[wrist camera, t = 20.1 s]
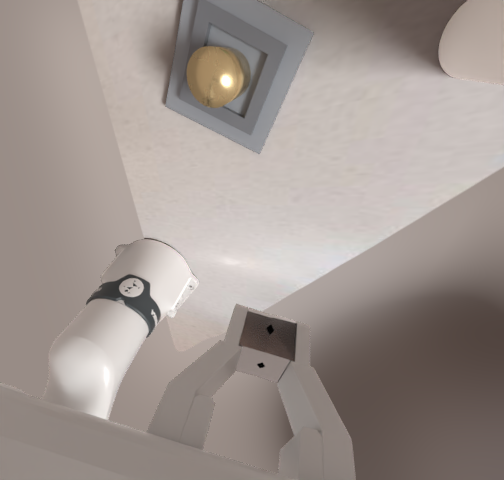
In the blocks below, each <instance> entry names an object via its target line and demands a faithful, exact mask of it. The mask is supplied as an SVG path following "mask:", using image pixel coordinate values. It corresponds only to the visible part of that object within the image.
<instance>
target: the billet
mask: <svg viewBox="0 0 504 480" xmlns="http://www.w3.org/2000/svg"><path fill="white" fill-rule="evenodd" d="M250 80H251V70H250V65H249V62H248V60H247V59H246V57H245V56H244V55H243V54H242V53H241V52H240V51H239V50H237V49H234V48H228V47H214V46H205V47H202V48H199V49H198V50H196V51H195V52H194V53H193V54H192V56H191V58H190V60H189V62H188V65H187V82H188V86H189V88H190V91H191V93H192V94H193V96H194V97H195V98H196V99H197V100H198V101H199V102H200V103H201V104H203V105H204V106H207V107H210V108H219V107H222V106H224V105H226V104H227V103H229V102H231V101H233V100H234V99H236V98H238V97H239V96H241V95H242V94H244V93H245V91H246V90H247V88H248V86H249V84H250Z"/></svg>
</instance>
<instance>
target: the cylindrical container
mask: <svg viewBox="0 0 504 480" xmlns="http://www.w3.org/2000/svg"><path fill="white" fill-rule="evenodd" d="M438 56H439V62H440V65H441V67H442V69H443V70H444V72H446V73H447V74H448V75H449V76H451V77H453V78H457V79H463V80H470V81H477V82H484V83H491V84H498V85H504V0H467V1H466V2H465V3H464V4H463V5H462V6H460V7H459V9H458V10H457V11H456V12H455V13H454V15H453V16H452V17H451V19H450V20H449V22H448V23H447V25H446V27H445V29H444V31H443V33H442V36H441V39H440V43H439V49H438Z"/></svg>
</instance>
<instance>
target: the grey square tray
mask: <svg viewBox="0 0 504 480" xmlns="http://www.w3.org/2000/svg"><path fill="white" fill-rule="evenodd" d="M313 34H314V32H312V31H310V30H309V29H307V28H305V27H303V26H302V25H300V24H298V23H296V22H295V21H293V20H291V19H289V18H288V17H286V16H284V15H282V14H280V13H279V12H277V11H275V10H273V9H272V8H270V7H268V6H266V5H265V4H263V3H261V2H259V1H258V0H183V5H182V11H181V17H180V23H179V29H178V35H177V41H176V47H175V53H174V59H173V64H172V70H171V76H170V82H169V88H168V94H167V100H166V106H165V107H167V108H169V109H171V110H173V111H175V112H177V113H179V114H181V115H183V116H185V117H187V118H189V119H191V120H193V121H195V122H197V123H199V124H201V125H203V126H205V127H207V128H209V129H211V130H213V131H215V132H217V133H219V134H221V135H223V136H225V137H227V138H229V139H231V140H233V141H235V142H237V143H238V144H240V145H242V146H244V147H246V148H248V149H250V150H252V151H254V152H256V153H258V154H260V152H261V150H262V148H263V146H264V144H265V141H266V139H267V137H268V135H269V132H270V130H271V128H272V126H273V124H274V121H275V119H276V117H277V115H278V112H279V110H280V108H281V106H282V103H283V101H284V99H285V97H286V94H287V92H288V90H289V88H290V86H291V83H292V81H293V79H294V77H295V74H296V72H297V70H298V68H299V65H300V63H301V61H302V59H303V57H304V54H305V52H306V50H307V48H308V45H309V43H310V41H311V39H312V36H313ZM205 46H214V47H228V48H234V49H237V50H239V51H240V52H241V53H242V54H243V55H244V56H245V57H246V59H247V60H248V62H249V65H250V70H251V80H250V84H249V86H248V88H247V90H246V91H245V93H244V94H242V95H241V96H239V97H238V98H236V99H234V100H233V101H231V102H229V103H227V104H226V105H224V106H222V107H219V108H210V107H207V106H204V105H203V104H201V103H200V102H199V101H198V100H197V99H196V98H195V97H194V96H193V94H192V93H191V91H190V88H189V86H188V82H187V65H188V62H189V60H190V58H191V56H192V54H193V53H194V52H195V51H196V50H198V49H199V48H202V47H205Z"/></svg>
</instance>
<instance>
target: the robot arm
mask: <svg viewBox="0 0 504 480" xmlns="http://www.w3.org/2000/svg"><path fill="white" fill-rule="evenodd" d="M115 253H116V258H115V259H114V260H113V261H112V263H111V264H110V265H109V266H108V267H107V269H106V270H105V271H104V272H103V274H102V275H101V282H102V285H101V286H100V287H99V288H98V289H97V290H95V291H94V293H93V294H92V295H91V297H90V298H89V299H88V301H87V303H86V306H85V307H84V309H83V310H82V311H81V312H80V313H79V314H78V315H77V316H76V317H75V318H74V319H73V320H72V322H71V323H70V324H69V325H68V326H67V327H66V328H65V329H64V330H63V331H62V333H61V334H60V335H59V336H58V337H57V338H56V339H55V340H54V342H53V344H52V346H51V348H50V351H49V355H48V362H49V378H48V383H47V386H46V389H45V392H44V394H43V396H42V399H40V398H36V397H33V396H30V395H28V394H26V393H25V392H24V391H22V390H20V389H19V388H16V387H13V386H10V385H7V384H4V383H1V382H0V480H356V478H355V469H354V459H353V449H352V440H351V438H350V436H349V434H348V432H347V430H346V428H345V427H344V424H343V422H342V421H341V419H340V417H339V415H338V413H337V411H336V409H335V407H334V405H333V403H332V402H331V400H330V398H329V396H328V394H327V392H326V390H325V388H324V386H323V384H322V383H321V381H320V379H319V377H318V375H317V373H316V371H315V369H314V368H312V367H310V326H309V325H308V324H304V323H301V322H297V321H295V320H291V319H287V318H284V317H280V316H277V315H271V314H268V313H265V312H261V311H258V310H255V309H252V308H248V307H245V306H242V305H239V304H236V306H235V308H234V311H233V314H232V317H231V320H230V324H229V327H228V330H227V333H226V336H225V340H224V341H221V340H220V341H219V342H218V343H216V344H215V345H214V346H213V347H211V348H210V349H209V350H208V351H207V352H206V353H204V354H203V355H202V356H201V357H199V358H198V359H197V360H196V361H195V362H193V363H192V364H191V365H190V366H189V367H187V368H186V369H185V370H184V371H183V372H181V373H180V374H179V375H178V376H177V377H175V378H174V379H173V380H172V381H171V382H169V384H168V385H167V388H166V390H165V392H164V395H163V397H162V399H161V401H160V403H159V405H158V408H157V410H156V412H155V414H154V417H153V419H152V421H151V423H150V425H149V428H148V430H147V432H144V431H140V430H138V429H135V428H131V427H128V426H125V425H122V424H119V423H116V422H112V421H109V420H108V419H109V415H110V412H111V409H112V405H113V403H114V399H115V396H116V394H117V391H118V388H119V386H120V384H121V381H122V379H123V377H124V375H125V373H126V371H127V369H128V368H129V366H130V364H131V362H132V360H133V359H134V357H135V355H136V353H137V352H138V350H139V348H140V347H141V345H142V343H143V341H144V340H145V338H147V337H148V336H149V335H150V334H151V332H153V330H154V329H155V327H156V326H157V324H158V323H159V322H160V321H161V320H162V319H163V318H164V317H165V316H166V315H167V316H169V317H170V318H173V317H174V316H175V314H176V312H177V311H178V308H179V307H180V306H181V305H182V304H183V302H184V301H185V300H186V299H187V298H188V297H189V296H190V294H191V293H192V292H193V291H194V290H195V289H196V287H197V286H198V285H199V281H198V279H197V278H196V277H195V276H194V275H193V274H192V272H191V271H190V269H189V266H188V264H187V262H186V261H185V259H184V258H183V257H182V256H181V255H180V254H179V253H178V252H177V251H176V250H174V249H173V248H171V247H170V246H168V245H166V244H164V243H162V242H159V241H155V240H150V239H142V240H137V241H135V242H133V243H131V244H129V245H119V246H117V248H116V249H115ZM235 371H239V372H243V373H246V374H250V375H254V376H257V377H260V378H263V379H266V380H269V381H272V382H275V383H278V384H277V386H278V389H279V392H280V395H281V397H282V400H283V404H284V406H285V409H286V412H287V415H288V418H289V421H290V424H291V427H292V430H293V433H294V437H293V438H292V439H291V440H290V441H289V442H288V443H287V444H286V445H285V446H284V447H283V448H282V449H281V450H280V458H279V459H280V460H279V469H278V474H277V473H273V472H270V471H267V470H264V469H261V468H258V467H255V466H251V465H248V464H245V463H242V462H239V461H235V460H232V459H229V458H226V457H223V456H220V455H217V454H214V453H210V452H207V451H204V450H203V448H204V444H205V440H206V437H207V433H208V429H209V425H210V422H211V418H212V414H213V410H214V406H215V402H214V401H213V399H212V398H211V397H212V396H213V395H214V394H215V393H216V391H217V390H218V389H219V388H220V387H221V386H222V385H223V384H224V383H225V382H226V381H227V380H228V379H229V378H230V377H231V376H232V374H233V373H234V372H235Z"/></svg>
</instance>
